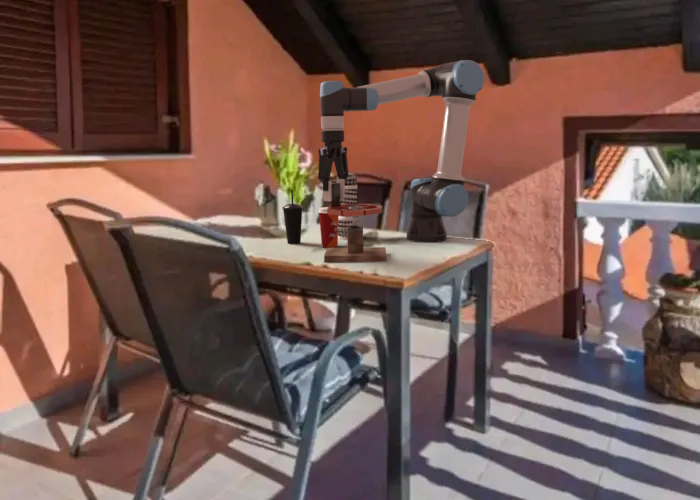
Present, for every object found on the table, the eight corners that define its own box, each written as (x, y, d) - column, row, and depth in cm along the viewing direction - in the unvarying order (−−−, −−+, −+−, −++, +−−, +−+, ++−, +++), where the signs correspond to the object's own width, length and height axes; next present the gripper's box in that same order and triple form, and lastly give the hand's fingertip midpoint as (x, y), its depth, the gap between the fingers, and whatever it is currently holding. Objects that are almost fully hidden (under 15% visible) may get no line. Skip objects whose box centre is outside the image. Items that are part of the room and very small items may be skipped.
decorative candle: (343, 240, 255) (342, 174, 250) (332, 237, 263) (330, 173, 258) (364, 238, 259) (363, 173, 254) (352, 235, 267) (351, 172, 262)
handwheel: (330, 225, 230) (329, 182, 227) (382, 225, 229) (382, 181, 226) (325, 234, 213) (324, 187, 210) (381, 233, 211) (380, 186, 209)
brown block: (385, 253, 229) (385, 224, 227) (386, 261, 215) (386, 230, 213) (327, 253, 230) (326, 224, 228) (324, 262, 216) (323, 231, 214)
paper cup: (337, 248, 239) (336, 209, 236) (316, 248, 240) (315, 209, 238) (342, 244, 246) (341, 206, 244) (322, 244, 248) (321, 206, 245)
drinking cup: (285, 241, 256) (283, 188, 252) (305, 241, 255) (303, 188, 252) (282, 244, 248) (280, 191, 244) (303, 244, 248) (301, 190, 244)
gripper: (339, 129, 229) (341, 196, 234) (305, 130, 212) (307, 202, 217) (358, 129, 225) (359, 197, 230) (324, 130, 209) (326, 203, 213)
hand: (334, 199), depth 223 cm, fingers open, 7 cm apart
